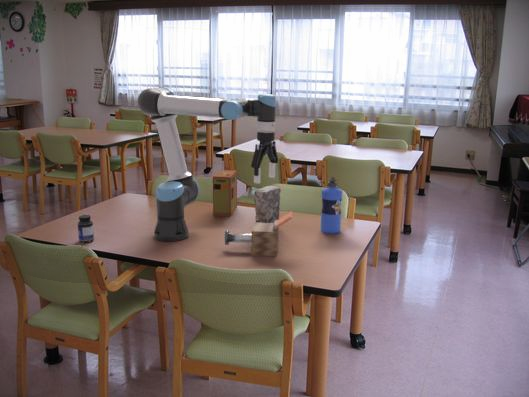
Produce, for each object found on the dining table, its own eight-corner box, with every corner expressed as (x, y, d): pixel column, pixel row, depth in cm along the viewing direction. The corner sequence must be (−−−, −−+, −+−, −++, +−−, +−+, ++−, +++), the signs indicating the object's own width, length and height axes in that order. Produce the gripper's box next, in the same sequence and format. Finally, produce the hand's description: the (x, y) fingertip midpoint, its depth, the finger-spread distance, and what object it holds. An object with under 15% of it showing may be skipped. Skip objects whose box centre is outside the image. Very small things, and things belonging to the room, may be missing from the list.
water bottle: (316, 231, 246) (317, 177, 239) (328, 226, 252) (330, 174, 246) (332, 235, 239) (334, 180, 233) (344, 230, 246) (347, 177, 240)
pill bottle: (78, 239, 231) (76, 215, 229) (93, 237, 234) (91, 213, 231) (79, 243, 226) (77, 218, 223) (94, 242, 228) (92, 217, 225)
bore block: (251, 255, 214) (251, 231, 212) (254, 245, 226) (254, 222, 223) (276, 256, 213) (276, 232, 211) (278, 246, 225) (278, 223, 222)
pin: (224, 246, 217) (224, 232, 216) (227, 242, 223) (227, 228, 222) (266, 248, 216) (267, 234, 214) (268, 243, 222) (268, 229, 220)
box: (220, 206, 286) (219, 170, 281) (237, 207, 284) (236, 170, 280) (213, 215, 270) (212, 176, 265) (230, 216, 268) (230, 177, 263)
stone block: (267, 235, 239) (267, 191, 234) (253, 233, 242) (253, 189, 237) (280, 227, 250) (281, 186, 245) (267, 225, 253) (268, 184, 248)
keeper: (274, 231, 212) (271, 227, 212) (275, 224, 221) (273, 221, 221) (292, 219, 210) (290, 216, 210) (293, 213, 219) (291, 210, 219)
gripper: (259, 135, 215) (258, 186, 220) (286, 129, 236) (285, 176, 242) (243, 133, 218) (242, 184, 224) (271, 127, 240) (270, 174, 245)
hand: (264, 180), depth 233 cm, fingers open, 13 cm apart
